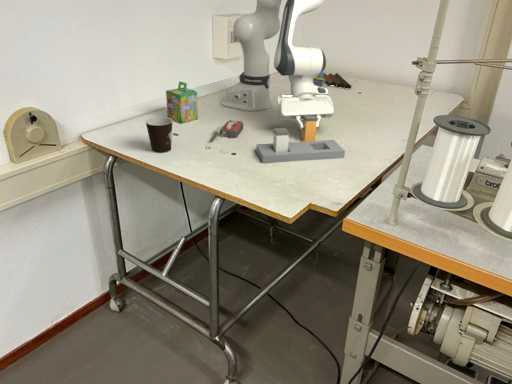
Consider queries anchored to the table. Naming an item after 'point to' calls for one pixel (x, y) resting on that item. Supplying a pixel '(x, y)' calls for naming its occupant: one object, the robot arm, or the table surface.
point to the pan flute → (336, 80)
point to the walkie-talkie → (228, 130)
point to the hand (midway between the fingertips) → (309, 128)
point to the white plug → (280, 140)
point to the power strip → (301, 151)
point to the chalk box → (182, 104)
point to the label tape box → (319, 80)
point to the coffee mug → (160, 133)
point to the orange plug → (309, 128)
